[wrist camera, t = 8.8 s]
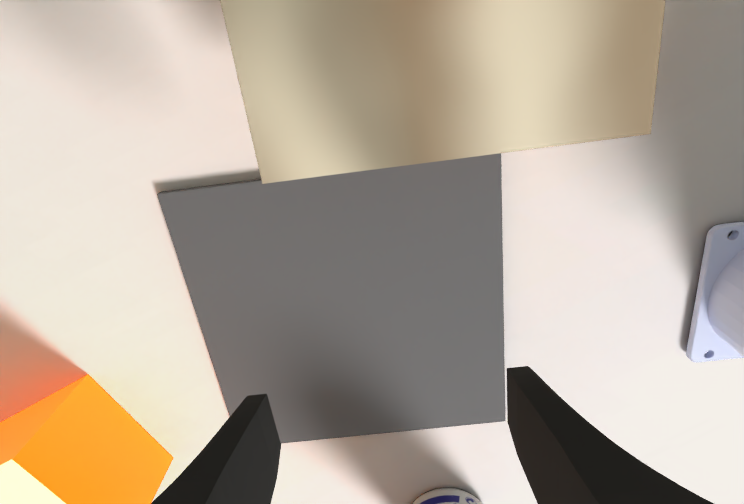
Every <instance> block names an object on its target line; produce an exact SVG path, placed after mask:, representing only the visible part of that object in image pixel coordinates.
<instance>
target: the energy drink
mask: <svg viewBox="0 0 744 504" xmlns="http://www.w3.org/2000/svg"><path fill="white" fill-rule="evenodd" d="M413 504H482V503H481V502H480V501H479V499H477V498H476V497H475V496H473V495H471V494H470V493H468V492H466V491H464V490H460V489H455V488H440V489H435V490H432V491H429V492H427V493H424V494H423V495H421V496H420V497H418V498H417V499H416V500H415V501H414V502H413Z"/></svg>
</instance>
